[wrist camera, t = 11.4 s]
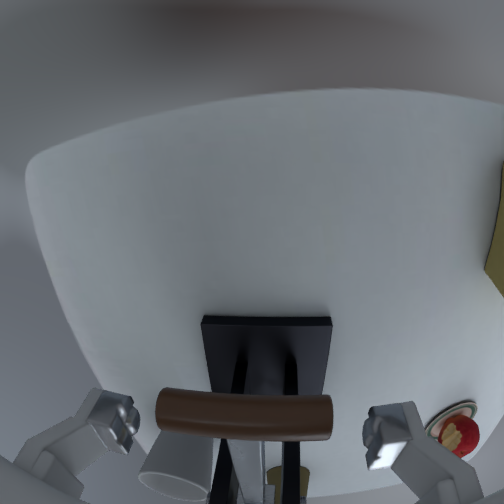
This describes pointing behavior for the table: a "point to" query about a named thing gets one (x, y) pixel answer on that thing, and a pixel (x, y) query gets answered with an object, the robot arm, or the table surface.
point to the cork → (275, 479)
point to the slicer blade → (246, 427)
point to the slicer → (264, 379)
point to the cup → (179, 466)
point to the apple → (456, 429)
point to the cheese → (497, 248)
